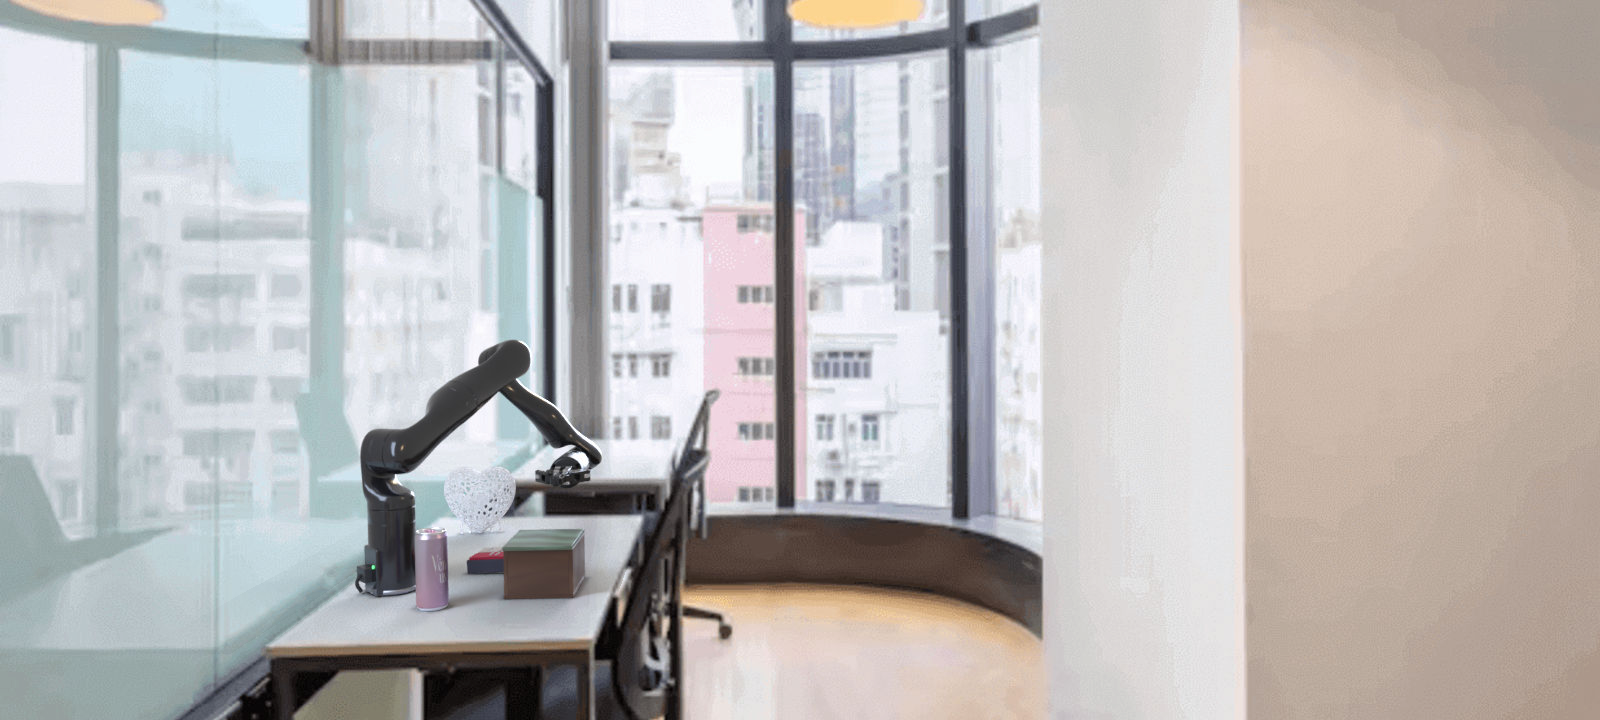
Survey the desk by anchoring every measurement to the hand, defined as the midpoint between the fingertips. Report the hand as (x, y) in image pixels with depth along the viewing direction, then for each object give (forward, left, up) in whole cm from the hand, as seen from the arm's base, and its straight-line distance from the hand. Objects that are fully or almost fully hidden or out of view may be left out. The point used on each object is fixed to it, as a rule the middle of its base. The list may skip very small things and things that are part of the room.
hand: (556, 481), depth 233 cm
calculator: (-6, +11, -20) cm, 24 cm away
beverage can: (-32, -7, -20) cm, 38 cm away
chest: (-9, -10, -20) cm, 24 cm away
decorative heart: (+8, +51, -20) cm, 55 cm away
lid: (-9, -10, -10) cm, 17 cm away
